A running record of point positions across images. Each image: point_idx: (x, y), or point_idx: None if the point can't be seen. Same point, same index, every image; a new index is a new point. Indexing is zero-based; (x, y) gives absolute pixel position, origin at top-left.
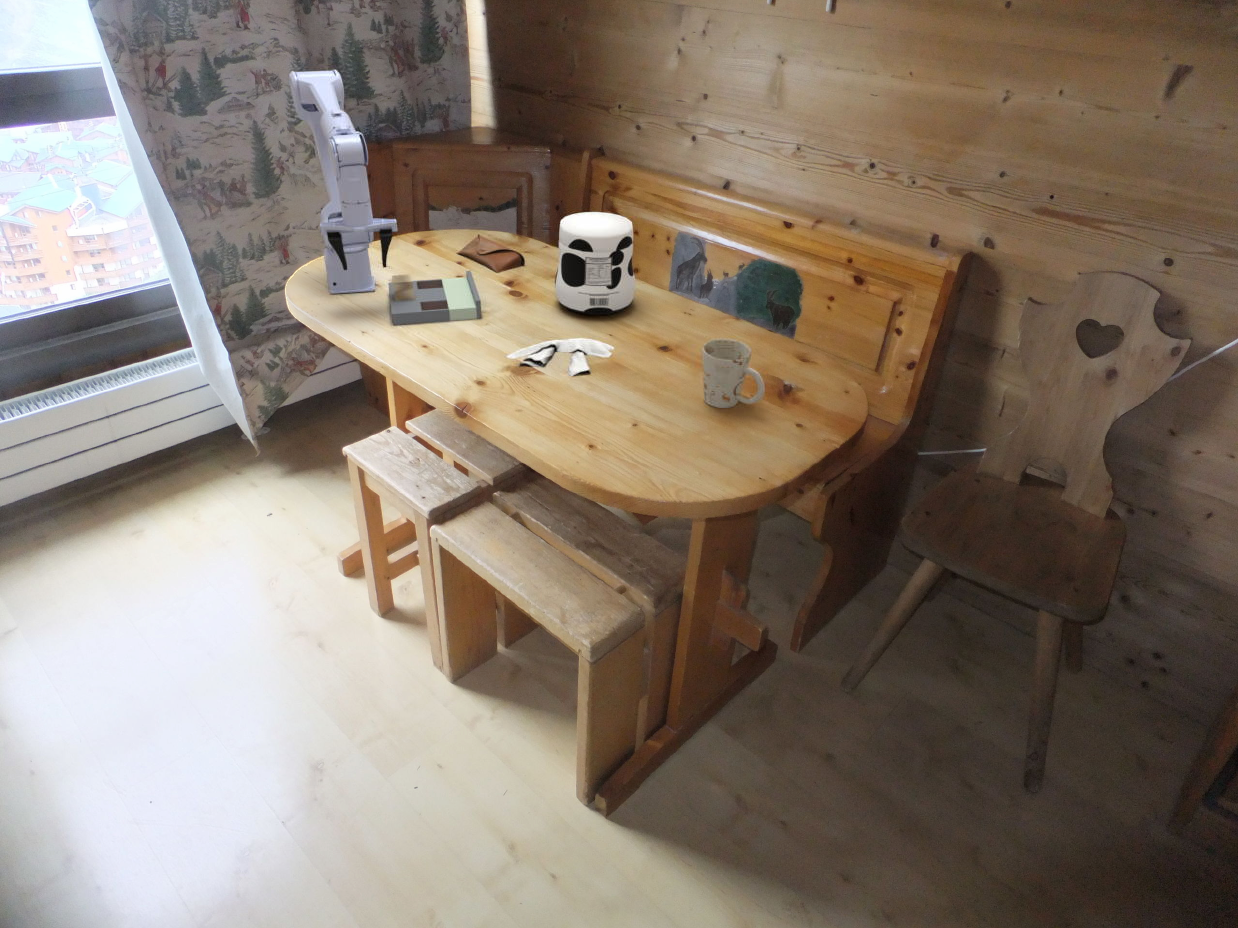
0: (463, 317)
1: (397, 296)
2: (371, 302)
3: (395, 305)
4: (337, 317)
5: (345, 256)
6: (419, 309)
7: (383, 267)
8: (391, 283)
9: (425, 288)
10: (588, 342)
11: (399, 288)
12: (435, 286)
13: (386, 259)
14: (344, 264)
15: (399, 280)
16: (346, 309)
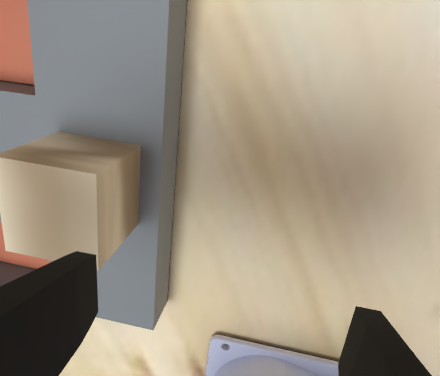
0: None
1: (118, 149)
2: (239, 255)
3: (142, 91)
4: (403, 165)
5: None
6: (35, 2)
7: (92, 255)
8: (141, 318)
9: None
10: None
11: (84, 158)
12: (8, 272)
13: (21, 279)
14: (386, 339)
15: (60, 195)
16: (344, 229)
